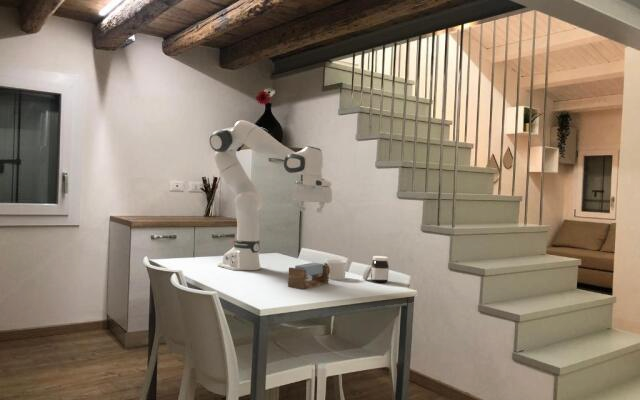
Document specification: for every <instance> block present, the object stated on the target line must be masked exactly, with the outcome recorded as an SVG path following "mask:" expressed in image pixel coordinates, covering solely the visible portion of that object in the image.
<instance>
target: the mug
mask: <svg viewBox="0 0 640 400" xmlns="http://www.w3.org/2000/svg"><path fill="white" fill-rule="evenodd" d="M323 262H324V263H323V265H328V266H329V281H330V280H331V281H332V280H334V281H341V279H343V280H345V279H346V271H347V270H346V269H347V261H346V260H342V259H330V258H329V259H328V258H326V259H324V260H323Z"/></svg>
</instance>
